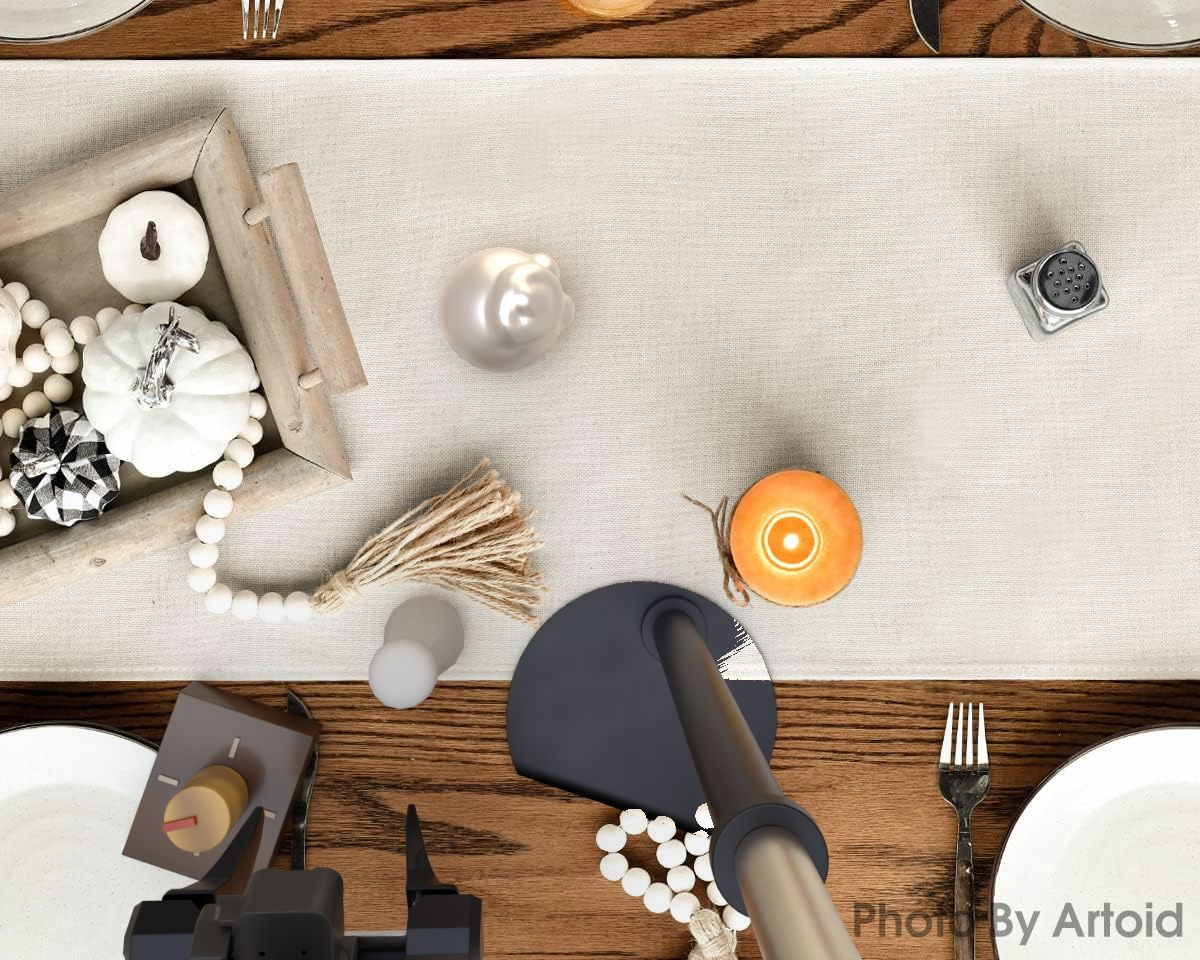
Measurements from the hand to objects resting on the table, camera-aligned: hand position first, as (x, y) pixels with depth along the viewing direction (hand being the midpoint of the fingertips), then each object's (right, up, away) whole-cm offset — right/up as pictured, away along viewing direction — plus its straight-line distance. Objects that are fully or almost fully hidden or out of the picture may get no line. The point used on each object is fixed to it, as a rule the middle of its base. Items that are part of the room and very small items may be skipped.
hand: (336, 808), depth 64 cm
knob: (-11, -3, +9) cm, 14 cm away
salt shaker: (+4, +8, +13) cm, 16 cm away
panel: (-11, -3, +12) cm, 17 cm away
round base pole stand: (+19, +1, +13) cm, 23 cm away
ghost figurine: (+9, +31, +14) cm, 35 cm away
